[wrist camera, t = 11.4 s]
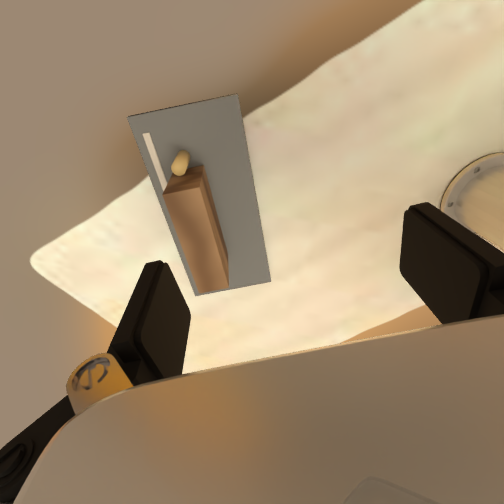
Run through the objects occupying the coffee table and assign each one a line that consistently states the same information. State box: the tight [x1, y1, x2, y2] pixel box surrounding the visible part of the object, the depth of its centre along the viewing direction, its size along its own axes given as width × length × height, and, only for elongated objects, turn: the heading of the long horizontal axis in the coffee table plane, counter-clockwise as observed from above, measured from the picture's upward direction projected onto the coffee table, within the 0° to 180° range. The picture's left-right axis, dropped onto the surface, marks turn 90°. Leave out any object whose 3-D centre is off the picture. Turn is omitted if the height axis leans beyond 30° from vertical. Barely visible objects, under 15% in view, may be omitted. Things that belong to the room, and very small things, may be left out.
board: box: [127, 94, 271, 296], centre depth 39 cm, size 13×28×6 cm, turn 10°
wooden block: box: [162, 165, 229, 294], centre depth 37 cm, size 4×14×8 cm, turn 10°
